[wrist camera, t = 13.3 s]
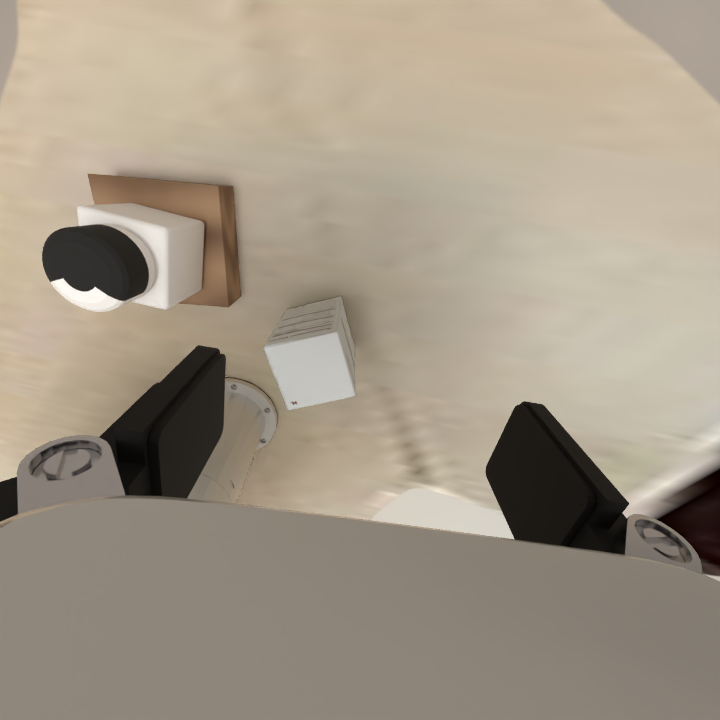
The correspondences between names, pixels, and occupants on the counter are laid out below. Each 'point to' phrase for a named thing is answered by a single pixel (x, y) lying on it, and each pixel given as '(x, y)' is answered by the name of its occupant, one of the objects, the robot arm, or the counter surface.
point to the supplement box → (313, 354)
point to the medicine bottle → (126, 257)
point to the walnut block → (193, 203)
